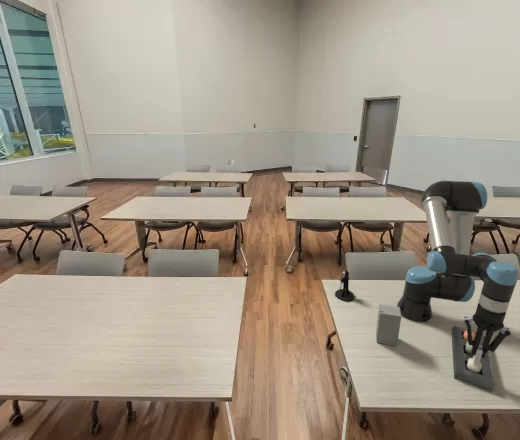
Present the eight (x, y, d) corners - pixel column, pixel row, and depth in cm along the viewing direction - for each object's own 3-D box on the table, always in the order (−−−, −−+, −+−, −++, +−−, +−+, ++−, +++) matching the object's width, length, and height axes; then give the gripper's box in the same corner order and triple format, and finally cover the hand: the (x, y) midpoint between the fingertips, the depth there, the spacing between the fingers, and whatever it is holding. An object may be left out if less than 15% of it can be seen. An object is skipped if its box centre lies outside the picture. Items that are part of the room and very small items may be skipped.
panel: (454, 378, 103) (456, 371, 102) (451, 331, 126) (453, 325, 125) (492, 392, 98) (494, 384, 97) (482, 341, 121) (484, 334, 120)
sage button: (465, 352, 110) (467, 345, 109) (464, 346, 114) (466, 339, 112) (478, 356, 108) (480, 349, 107) (476, 350, 112) (479, 342, 110)
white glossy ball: (466, 371, 103) (468, 364, 102) (465, 364, 107) (467, 356, 105) (480, 376, 101) (482, 368, 100) (478, 368, 105) (481, 360, 103)
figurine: (345, 288, 159) (348, 265, 154) (358, 298, 150) (361, 273, 146) (331, 293, 155) (333, 268, 150) (343, 303, 147) (345, 277, 142)
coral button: (462, 341, 118) (464, 334, 117) (462, 335, 121) (464, 329, 120) (474, 345, 116) (476, 338, 115) (473, 339, 119) (475, 332, 118)
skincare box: (395, 336, 124) (400, 306, 118) (397, 348, 117) (403, 316, 112) (374, 332, 126) (379, 302, 121) (375, 343, 120) (380, 312, 115)
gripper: (469, 306, 95) (454, 362, 103) (520, 319, 89) (500, 377, 96) (467, 295, 101) (453, 348, 109) (514, 307, 95) (496, 362, 102)
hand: (475, 362), depth 103 cm, fingers closed
